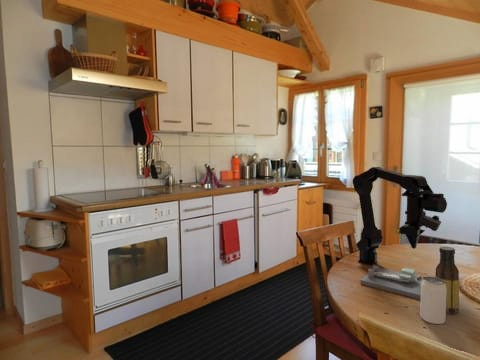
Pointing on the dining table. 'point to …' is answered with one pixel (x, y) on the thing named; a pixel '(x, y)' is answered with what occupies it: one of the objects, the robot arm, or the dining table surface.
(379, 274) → the strap
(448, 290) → the sauce bottle
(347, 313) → the dining table surface
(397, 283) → the board
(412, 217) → the robot arm
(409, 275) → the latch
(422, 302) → the can
